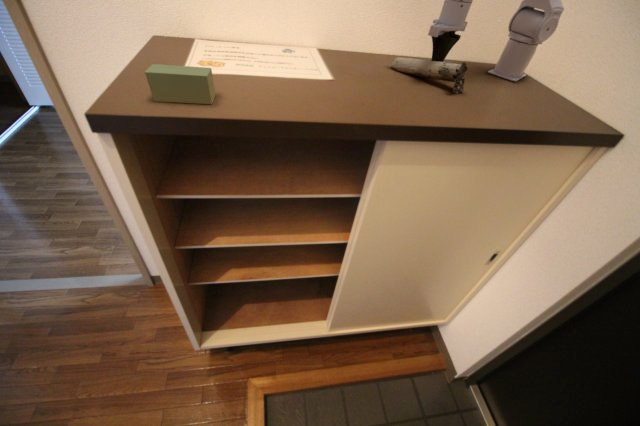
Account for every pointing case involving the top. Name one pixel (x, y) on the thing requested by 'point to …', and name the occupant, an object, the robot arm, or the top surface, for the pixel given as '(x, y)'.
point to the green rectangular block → (181, 84)
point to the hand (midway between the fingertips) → (435, 66)
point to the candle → (433, 70)
